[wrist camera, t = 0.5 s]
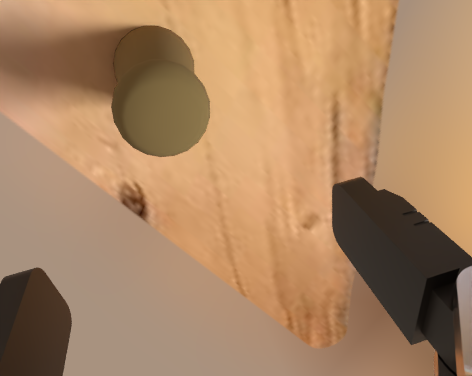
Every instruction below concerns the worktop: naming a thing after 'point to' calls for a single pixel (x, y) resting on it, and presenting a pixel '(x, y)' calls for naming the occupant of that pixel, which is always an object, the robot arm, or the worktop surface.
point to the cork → (158, 93)
